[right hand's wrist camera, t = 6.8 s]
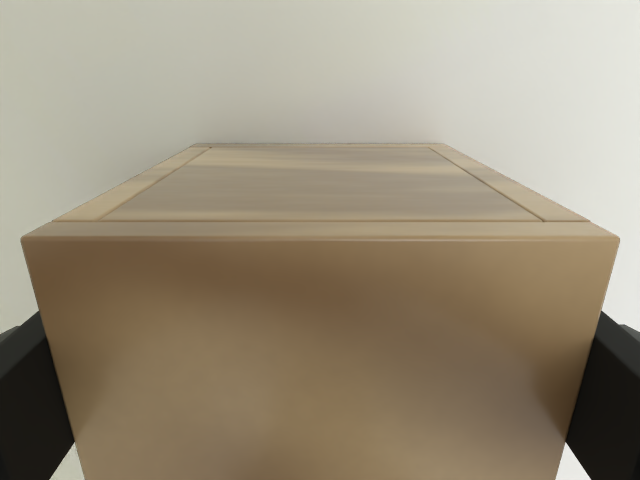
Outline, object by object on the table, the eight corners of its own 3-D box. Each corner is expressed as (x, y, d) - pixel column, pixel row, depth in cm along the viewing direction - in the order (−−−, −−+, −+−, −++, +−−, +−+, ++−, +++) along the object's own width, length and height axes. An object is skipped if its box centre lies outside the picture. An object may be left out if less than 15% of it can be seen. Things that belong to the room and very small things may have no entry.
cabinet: (413, 446, 24) (487, 735, 14) (226, 446, 24) (153, 736, 14) (444, 143, 18) (623, 237, 7) (194, 143, 18) (16, 236, 7)
